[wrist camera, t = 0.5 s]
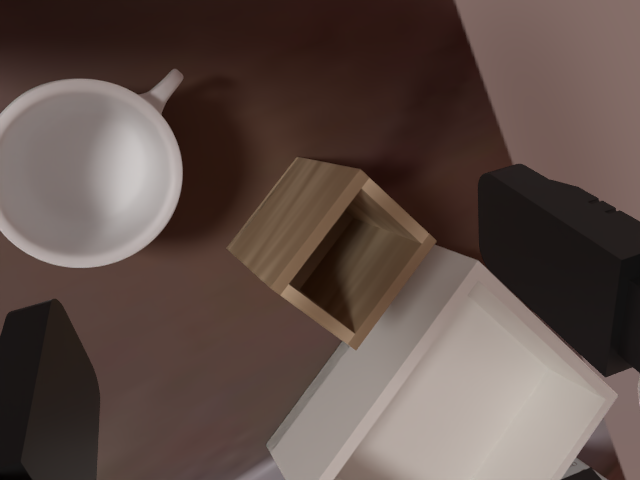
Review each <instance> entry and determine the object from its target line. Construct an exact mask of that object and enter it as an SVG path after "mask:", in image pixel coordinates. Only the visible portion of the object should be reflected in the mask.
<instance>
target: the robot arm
mask: <svg viewBox="0 0 640 480" xmlns="http://www.w3.org/2000/svg"><path fill="white" fill-rule="evenodd" d="M478 218H479V247H480V252H481V255H482V258H483V260H484V262H485V264H486V266H487V268H488V269H489V270H490V271H491V272H492V274H494V275H495V276H496V277H497V278H498V279H499V280H500V281H501V282H502V283H503V284H504V285H506V286H507V287H508V288H509V289H510V290H511V291H512V292H513V293H514V294H515V295H516V296H517V297H519V298H520V299H521V300H522V301H523V302H524V303H525V304H526V305H527V306H528V307H529V308H530V309H532V310H533V311H534V312H535V313H536V314H537V315H538V316H539V317H540V318H541V319H542V320H544V321H545V322H546V323H547V324H548V325H549V326H550V327H551V328H552V329H553V330H554V331H555V332H557V333H558V334H559V335H560V336H561V337H562V338H563V339H564V340H565V341H566V342H567V343H569V344H570V345H571V346H572V347H573V348H574V349H575V350H576V351H577V352H578V353H579V354H580V355H582V356H583V357H584V358H585V359H586V360H587V361H588V362H589V363H590V364H591V365H592V366H594V367H595V368H596V369H597V370H598V371H599V372H600V373H601V374H602V375H603V376H604V377H608V376H611V375H613V374H616V373H618V372H621V371H624V370H626V369H629V368H632V367H633V368H635V369H636V370H637V371H638V372H639V373H640V222H639V221H638V220H636V219H634V218H633V217H631V216H629V215H627V214H625V213H624V212H622V211H616V208H615V207H613V206H611V205H609V204H607V203H606V202H604V201H600V202H599V200H598V198H597V197H595V196H593V195H591V194H589V193H588V192H586V191H584V190H582V189H581V188H579V187H576V186H572V185H568V184H565V183H561V182H557V181H553V180H549V179H547V178H546V177H544V176H542V175H540V174H539V173H537V172H535V171H534V170H532V169H530V168H528V167H527V166H525V165H523V164H515V165H512V166H509V167H505V168H502V169H498V170H495V171H492V172H488V173H485V174H483V175H482V176H481V177H480V179H479V183H478ZM638 397H639V404H640V375H639V382H638ZM99 411H100V392H99V386H98V381H97V377H96V374H95V371H94V368H93V366H92V364H91V362H90V360H89V358H88V356H87V354H86V352H85V350H84V347H83V345H82V343H81V341H80V339H79V337H78V335H77V333H76V331H75V329H74V327H73V325H72V323H71V321H70V319H69V317H68V315H67V313H66V311H65V309H64V307H63V306H62V304H61V303H60V302H59V301H58V300H57V299H52V300H48V301H45V302H42V303H38V304H35V305H31V306H28V307H25V308H21V309H18V310H14V311H11V312H9V313H8V314H7V316H6V319H5V323H4V326H3V329H2V333H1V336H0V480H96V475H97V454H98V432H99ZM561 480H602V479H601V478H600V477H599V476H598V475H597V474H596V472H595V471H594V470H593V469H592V468H591V467H590V468H588V469H585V470H583V471H580V472H578V473H575V474H573V475H570V476H568V477H566V478H563V479H561Z"/></svg>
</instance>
